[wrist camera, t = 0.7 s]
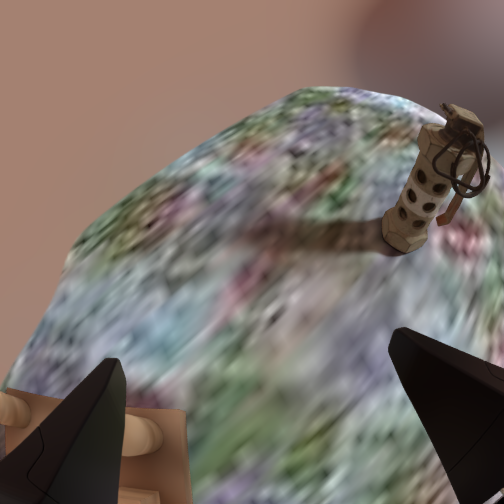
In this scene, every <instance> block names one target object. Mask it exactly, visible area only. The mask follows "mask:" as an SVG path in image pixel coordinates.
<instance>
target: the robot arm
mask: <svg viewBox="0 0 504 504" xmlns="http://www.w3.org/2000/svg"><path fill="white" fill-rule="evenodd" d="M388 352H389V355H390V358H391V360H392V362H393V365H394V367H395V369H396V372H397V374H398V376H399V379H400V381H401V383H402V386H403V388H404V390H405V392H406V394H407V395H408V397H409V399H410V401H411V403H412V405H413V407H414V409H415V410H416V412H417V414H418V416H419V418H420V420H421V422H422V424H423V426H424V428H425V430H426V432H427V434H428V436H429V438H430V440H431V442H432V444H433V446H434V448H435V450H436V452H437V454H438V456H439V458H440V461H441V463H442V465H443V467H444V469H445V471H446V473H447V476H448V478H449V480H450V483H451V485H452V487H453V490H454V492H455V494H456V496H457V499H458V501H459V504H483V503H484V502H486V501H487V500H488V499H490V498H491V497H492V496H494V495H495V494H496V493H498V492H499V491H500V492H501V493H502V495H503V496H501V497H500V498H499V499H498V500H497V501H496V502H495V503H494V504H504V368H501V367H499V366H496V365H494V364H491V363H489V362H487V361H484V360H482V359H479V358H477V357H475V356H472V355H470V354H468V353H465V352H463V351H460V350H458V349H456V348H453V347H451V346H449V345H446V344H444V343H442V342H439V341H437V340H435V339H432V338H430V337H427V336H425V335H423V334H420V333H418V332H416V331H413V330H411V329H409V328H406V327H401V328H397V329H395V330H394V331H393V334H392V337H391V340H390V343H389V346H388ZM125 408H126V377H125V374H124V371H123V368H122V365H121V362H120V360H119V359H118V358H105V359H104V360H103V361H102V362H101V363H100V364H99V365H98V366H97V367H96V368H95V369H94V370H93V371H92V372H91V373H90V374H89V375H88V376H87V377H86V378H85V379H84V380H83V381H82V382H81V383H80V384H79V385H78V386H77V387H76V388H75V389H74V390H73V391H72V392H71V393H70V394H69V395H68V396H67V397H66V398H65V399H64V400H63V401H62V402H61V403H60V404H59V405H58V406H57V407H56V408H55V409H54V410H53V411H52V412H51V413H50V414H49V415H48V416H47V417H46V418H45V419H44V420H43V421H42V422H41V423H40V424H39V426H37V427H36V428H35V429H34V430H33V431H32V432H31V433H30V434H29V435H28V436H27V437H26V438H25V439H24V440H23V441H22V442H21V443H20V444H19V445H18V446H17V447H16V448H14V449H13V450H12V451H11V452H10V453H9V454H8V455H6V456H5V457H4V458H3V459H2V460H0V504H118V492H119V479H120V467H121V457H122V448H123V440H124V432H125Z"/></svg>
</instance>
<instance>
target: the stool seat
mask: <svg viewBox="0 0 504 504" xmlns="http://www.w3.org/2000/svg"><path fill="white" fill-rule="evenodd" d="M62 401H63V399H57V398H52V397H47V396H42V395H37V394H32V393H28V392H23V391H19V390H15V389H11V388H7V393H3V392H0V424H3V425H5V446H6V455H8V454H9V453H10V452H11V451H12V450H13V449H14V448H16V447H17V446H18V445H19V444H20V443H21V442H22V441H23V440H24V439H25V438H26V437H27V436H28V435H29V434H30V433H31V432H32V431H33V430H34V429H35V428H36V427H37V426H39V424H40V423H41V422H42V421H43V420H44V419H45V418H46V417H47V416H48V415H49V414H50V413H51V412H52V411H53V410H54V409H55V408H56V407H57V406H58V405H59V404H60V403H61V402H62ZM119 487H128V488H135V489H142V490H151V491H159V497H160V504H193V499H192V490H191V480H190V469H189V457H188V443H187V428H186V412H185V411H182V410H180V409H147V408H130V407H126V408H125V432H124V440H123V448H122V457H121V467H120V479H119Z"/></svg>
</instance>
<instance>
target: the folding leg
mask: <svg viewBox="0 0 504 504" xmlns="http://www.w3.org/2000/svg"><path fill="white" fill-rule="evenodd" d="M118 504H160V497H159V491H151V490H142V489H135V488H128V487H119V492H118Z"/></svg>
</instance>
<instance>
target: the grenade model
mask: <svg viewBox="0 0 504 504" xmlns="http://www.w3.org/2000/svg"><path fill="white" fill-rule="evenodd" d="M440 107H441V109H442V110H443V111H444V112H445V114H446V116H447V118H446V120H447V123H446V125H445V126H443V125H440V124H436V123H430V124H425V125H423V126H422V128H421V130H420V133H419V136H418V138H417V140H418V146H419V150H420V152H419V155H418V157H417V160H416V163H415V165H414V167H413V169H412V171H411V173H410V175H409V178H408V180H407V183H406V185H405V186H404V188H403V190H402V193H401V195H400V197H399V200H398V202H397V203H396V205H395V207H393V208H390V209H389V210H387V211H386V212H385V214H384V216H383V218H382V233H383V237H384V240H385V241H386V242H387V243H389V244H390V245H391V246H393V247H394V248H396V249H397V250H399V251H401V252H404V253H409V252H412V251H414V250H416V249H418V248H420V247H422V246H423V244H424V243H425V242H426V240H427V239H428V234H427V228H428V226H429V224H430V222H431V221H432V220H433V218H434V217H435V215H436V213H437V212H438V210H439V208H440V206H441V205H442V203H443V202H444V200H445V199H446V197H447V195H448V193H449V192H450V189H451V187H453V189H454V191H455V192H456V193H455V196H454V197H453V199H452V201H451V202H450V204H449V206H448V208H447V210H446V212H445V213H444V214H442V215H440V216H438V217H436V221H437V225H438V226H442V225H447V224H449V223H450V222H451V220H452V218H453V216H454V214H455V213H456V211H457V210H458V208H459V206H460V204H461V202H462V200H463V198H472V197H475V196H477V195H478V194H479V193H481V192H482V190H483V189H484V188H485V187H486V185H487V183H488V181H489V179H490V175H488V174H489V170H490V163H491V162H490V153H489V150H488V148H487V146H486V145H485V144H484V128H483V125H482V123H481V122H480V121H479V119H478V118H477V117H476V116H475V114H474V113H473V112H470V111H468V110H466V109H463V108H461V107H458V106H456V105H453V104H449V105H448V106H447V105H446V103H443V104H442V105H441V104H440ZM484 148H485V150H486V153H487V160H488V161H487V169H486V173H485V176H484V172H483V167H482V162H481V161H482V156H483V151H484ZM478 168H479V173H480V179H481V181H480V184H479V186H477V187H473V186H471V185H470V183H471V181H472V179H473V177H474V175H475V173H476V171H477V169H478ZM463 174H464V175H463ZM459 175H463V177H462V179H461V181H460V180H458V179H457V178H458V176H459ZM457 184H459V186H457ZM467 189H470V190H472V192H470V193H466V191H467Z"/></svg>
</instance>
